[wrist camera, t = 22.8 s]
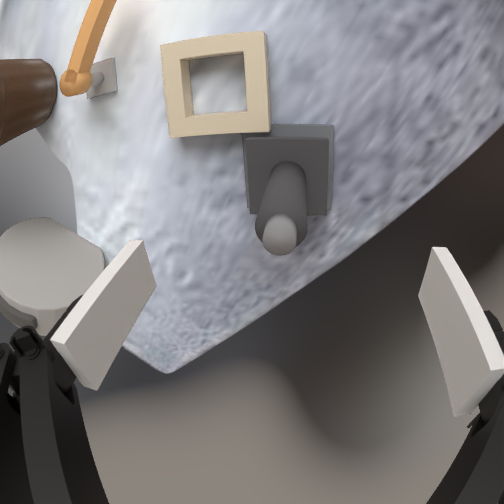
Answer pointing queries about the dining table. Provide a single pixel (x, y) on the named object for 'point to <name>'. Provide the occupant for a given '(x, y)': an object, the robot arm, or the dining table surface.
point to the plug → (286, 187)
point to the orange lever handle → (86, 48)
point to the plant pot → (25, 96)
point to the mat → (297, 131)
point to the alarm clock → (44, 272)
